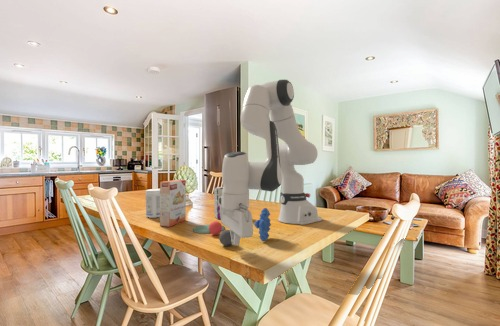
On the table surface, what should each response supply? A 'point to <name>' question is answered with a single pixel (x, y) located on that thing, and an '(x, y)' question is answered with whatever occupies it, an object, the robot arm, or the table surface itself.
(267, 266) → the table surface
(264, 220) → the grapes
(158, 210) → the supplement tub
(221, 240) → the ball
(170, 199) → the cracker box
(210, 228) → the ball
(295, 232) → the table surface
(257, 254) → the table surface
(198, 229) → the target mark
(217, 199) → the candy bar box
